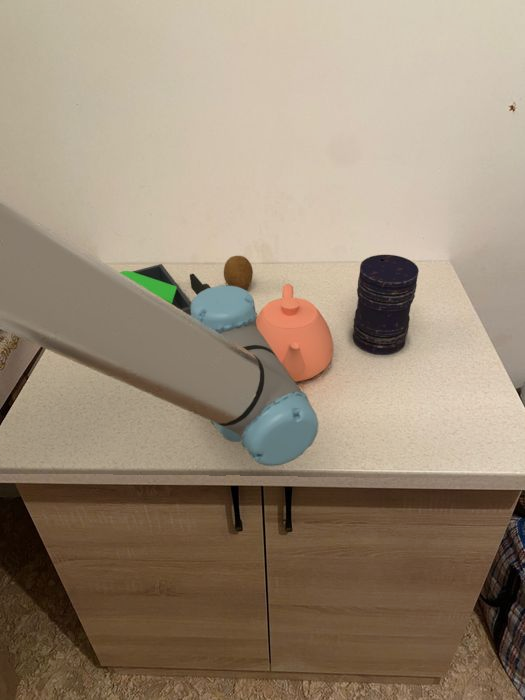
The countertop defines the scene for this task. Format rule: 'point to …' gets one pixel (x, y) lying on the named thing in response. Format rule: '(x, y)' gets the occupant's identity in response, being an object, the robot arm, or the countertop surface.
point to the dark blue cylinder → (384, 303)
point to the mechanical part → (153, 285)
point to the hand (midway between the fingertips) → (156, 290)
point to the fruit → (238, 272)
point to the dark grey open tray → (162, 275)
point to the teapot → (296, 335)
